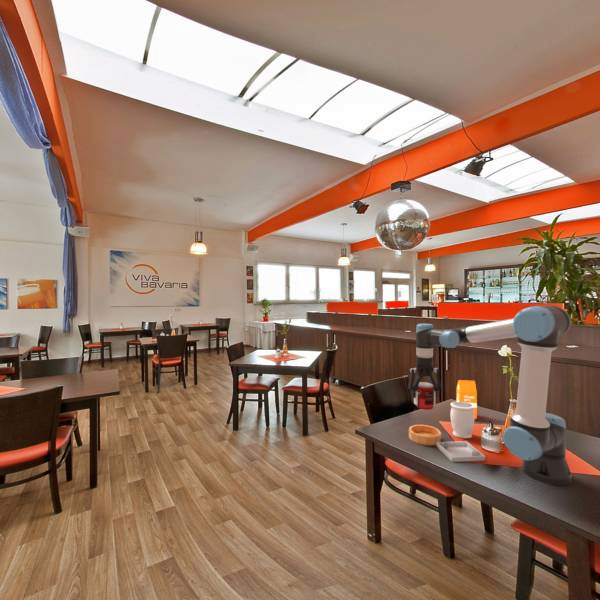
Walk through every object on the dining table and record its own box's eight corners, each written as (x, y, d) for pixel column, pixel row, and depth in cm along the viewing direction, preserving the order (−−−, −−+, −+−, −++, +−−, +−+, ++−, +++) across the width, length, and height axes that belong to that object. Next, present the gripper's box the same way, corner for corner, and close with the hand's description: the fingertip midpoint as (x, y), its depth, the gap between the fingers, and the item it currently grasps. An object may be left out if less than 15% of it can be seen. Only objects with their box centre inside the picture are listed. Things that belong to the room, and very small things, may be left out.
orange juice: (477, 418, 183) (477, 382, 182) (459, 417, 185) (459, 381, 185) (473, 413, 190) (473, 379, 190) (456, 412, 192) (456, 378, 192)
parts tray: (485, 461, 137) (485, 456, 137) (451, 462, 136) (451, 457, 136) (466, 445, 151) (466, 441, 151) (436, 446, 150) (436, 442, 150)
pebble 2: (481, 459, 138) (481, 452, 138) (474, 459, 138) (474, 452, 138) (477, 456, 141) (477, 449, 141) (470, 456, 141) (470, 449, 141)
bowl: (446, 445, 151) (446, 436, 151) (416, 446, 151) (416, 437, 151) (432, 432, 165) (432, 424, 165) (404, 433, 165) (404, 425, 165)
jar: (469, 431, 167) (469, 401, 166) (478, 440, 156) (478, 408, 156) (447, 430, 168) (447, 400, 167) (454, 439, 157) (454, 407, 157)
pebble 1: (449, 449, 146) (449, 443, 146) (442, 450, 146) (442, 443, 146) (446, 446, 149) (446, 440, 149) (439, 447, 149) (439, 440, 149)
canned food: (417, 403, 163) (417, 381, 163) (434, 406, 159) (434, 383, 159) (414, 408, 157) (414, 384, 156) (432, 411, 153) (432, 387, 152)
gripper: (442, 354, 162) (442, 401, 162) (400, 355, 161) (400, 402, 161) (449, 357, 154) (449, 406, 154) (406, 358, 153) (406, 407, 154)
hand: (424, 404), depth 158 cm, fingers closed on canned food, 8 cm apart
